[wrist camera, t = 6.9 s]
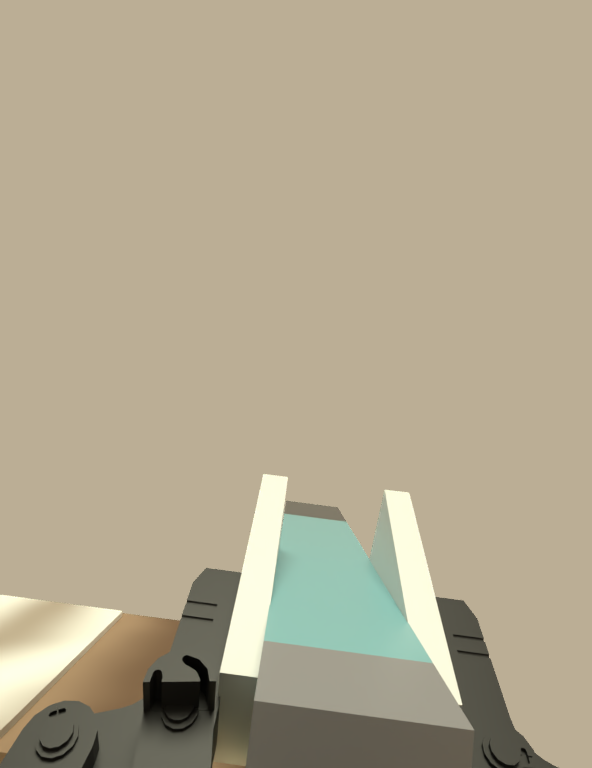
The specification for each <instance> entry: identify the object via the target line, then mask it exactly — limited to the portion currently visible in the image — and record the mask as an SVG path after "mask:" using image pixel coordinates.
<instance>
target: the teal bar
mask: <svg viewBox="0 0 592 768" xmlns="http://www.w3.org/2000/svg"><path fill="white" fill-rule="evenodd" d="M473 743H474V729H473V727H472V726H471V724H470V722H469V721H468V719H467V717H466V716H465V714H464V713H463V711H462V709H461V708H460V706H459V704H458V703H457V701H456V700H455V698H454V696H453V695H452V693H451V691H450V690H449V688H448V687H447V685H446V683H445V682H444V680H443V678H442V677H441V675H440V673H439V672H438V670H437V669H436V667H435V665H434V664H433V662H432V660H431V659H430V657H429V656H428V654H427V652H426V651H425V649H424V647H423V646H422V644H421V643H420V641H419V639H418V638H417V636H416V634H415V633H414V631H413V630H412V628H411V626H410V625H409V623H408V622H407V621H406V619H405V617H404V616H403V614H402V613H401V611H400V609H399V608H398V606H397V604H396V603H395V601H394V599H393V598H392V596H391V595H390V593H389V591H388V590H387V588H386V586H385V585H384V583H383V581H382V580H381V578H380V576H379V575H378V573H377V572H376V570H375V568H374V567H373V565H372V563H371V562H370V559H369V558H368V556H367V555H366V553H365V551H364V550H363V548H362V546H361V545H360V543H359V542H358V540H357V538H356V537H355V535H354V534H353V532H352V530H351V529H350V527H349V526H348V524H347V522H346V520H345V519H344V517H343V516H342V514H341V512H340V511H339V509H338V508H337V507H330V506H322V505H313V504H306V503H298V502H291V501H286V507H285V514H284V519H283V525H282V531H281V538H280V546H279V552H278V559H277V565H276V572H275V578H274V584H273V591H272V597H271V603H270V605H269V611H268V617H267V624H266V630H265V636H264V642H263V648H262V654H261V660H260V667H259V673H258V679H257V685H256V691H255V697H254V704H253V712H252V720H251V728H250V736H249V743H248V751H247V759H246V767H245V768H472V756H473Z"/></svg>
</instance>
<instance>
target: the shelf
mask: <svg viewBox="0 0 592 768" xmlns="http://www.w3.org/2000/svg"><path fill="white" fill-rule="evenodd" d="M179 623H180V621H177V620H169V619H162V618H155V617H147V616H139V615H131V614H125V613H123V611H119V610H111V609H104V608H96V607H89V606H81V605H74V604H66V603H58V602H51V601H43V600H36V599H29V598H21V597H14V596H6V595H0V764H1V762H2V760H3V759H4V757H5V756H6V754H7V753H8V751H9V750H10V748H11V746H12V745H13V743H14V742H15V740H16V739H17V737H18V736H19V734H20V733H21V731H22V729H23V728H24V727H25V726H26V725H27V723H28V722H29V721H30V720H31V719H32V718H33V717H34V715H36V714H37V713H39V712H40V711H42V710H43V709H45V708H46V707H48V706H49V705H52V704H55V703H58V702H61V701H80V702H82V703H84V704H86V705H88V706H90V708H91V709H92V711H93V712H94V714H95V713H99V712H104V711H109V710H114V709H119V708H123V707H126V706H129V705H132V704H134V703H136V702H138V701H139V700H141V699H143V680H144V678H145V675H146V673H147V671H148V669H149V668H150V666H151V665H152V664H153V663H154V662H155V661H156V660H157V659H158V658H160V657H161V656H163V655H165V654H167V653H169V652H170V650H171V647H172V644H173V641H174V638H175V635H176V632H177V629H178V626H179ZM245 767H246V766H241V765H234V764H227V763H220V762H214V760H213V765H212V768H245Z"/></svg>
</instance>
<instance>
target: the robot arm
mask: <svg viewBox="0 0 592 768" xmlns="http://www.w3.org/2000/svg"><path fill="white" fill-rule="evenodd" d="M287 480H288V477H282V476H274V475H266V474H264V475H263V479H262V484H261V488H260V492H259V497H258V501H257V506H256V510H255V515H254V519H253V524H252V529H251V533H250V538H249V542H248V547H247V551H246V556H245V560H244V565H243V569H242V573H240V572H232V571H225V570H217V569H209V568H206V569H205V570H204V571H203V572H202V573H201V574H200V575H199V577H198V578H197V579H196V580H195V581H194V582H193V584H192V587H191V590H190V593H189V596H188V599H187V604H186V605H185V608H184V611H183V614H182V618H181V620H180V623H179V626H178V629H177V632H176V635H175V638H174V641H173V644H172V647H171V650H170V652H169V653H167V654H165V655H163V656H161V657H160V658H158V659H157V660H156V661H155V662H154V663H153V664H152V665H151V666H150V668H149V669H148V671H147V673H146V675H145V678H144V680H143V699H141V700H139V701H138V702H136V703H134V704H132V705H129V706H126V707H123V708H119V709H114V710H109V711H104V712H99V713H95V714H94V712H93V711H92V709H91V708H90V706H88V705H86V704H84V703H82V702H80V701H61V702H58V703H55V704H52V705H49V706H48V707H46V708H45V709H43V710H42V711H40V712H39V713H37V714H36V715H34V717H33V718H32V719H31V720H30V721H29V722H28V723H27V725H26V726H25V727H24V728H23V729H22V731H21V733H20V734H19V736H18V737H17V739H16V740H15V742H14V743H13V745H12V746H11V748H10V750H9V751H8V753H7V754H6V756H5V757H4V759H3V760H2V762H1V764H0V768H212V765H213V760H214V762H220V763H227V764H234V765H241V766H246V759H247V751H248V743H249V736H250V728H251V720H252V712H253V704H254V697H255V691H256V685H257V679H258V673H259V667H260V660H261V654H262V648H263V642H264V636H265V630H266V624H267V617H268V611H269V605H270V603H271V597H272V591H273V584H274V578H275V572H276V565H277V559H278V552H279V546H280V537H281V529H282V521H283V513H284V505H285V496H286V488H287ZM370 562H371V563H372V565H373V567H374V568H375V570H376V572H377V573H378V575H379V576H380V578H381V580H382V581H383V583H384V585H385V586H386V588H387V590H388V591H389V593H390V595H391V596H392V598H393V599H394V601H395V603H396V604H397V606H398V608H399V609H400V611H401V613H402V614H403V616H404V617H405V619H406V621H407V622H408V623H409V625H410V626H411V628H412V630H413V631H414V633H415V634H416V636H417V638H418V639H419V641H420V643H421V644H422V646H423V647H424V649H425V651H426V652H427V654H428V656H429V657H430V659H431V660H432V662H433V664H434V665H435V667H436V669H437V670H438V672H439V673H440V675H441V677H442V678H443V680H444V682H445V683H446V685H447V687H448V688H449V690H450V691H451V693H452V695H453V696H454V698H455V700H456V701H457V703H458V704H459V706H460V708H461V709H462V711H463V713H464V714H465V716H466V717H467V719H468V721H469V722H470V724H471V726H472V727H473V729H474V743H473V756H472V768H557V767H556V766H553V765H552V764H550V763H548V762H547V761H545V760H543V759H542V758H541V757H539V756H538V755H537V754H536V753H534V750H533V749H532V748H531V746H530V745H529V743H528V742H527V741H526V739H525V738H524V737H523V736H522V735H521V734H519V732H517V731H516V730H515V728H514V726H513V724H512V721H511V719H510V716H509V713H508V710H507V707H506V704H505V701H504V698H503V695H502V692H501V689H500V686H499V683H498V680H497V677H496V674H495V671H494V668H493V665H492V662H491V659H490V658H489V653H488V650H487V647H486V644H485V642H484V641H483V635H482V632H481V629H480V626H479V623H478V620H477V618H476V617H475V615H474V614H473V613H472V611H471V610H470V609H469V607H468V606H467V605H466V604H465V602H464V601H461V600H454V599H447V598H439V597H435V594H434V590H433V586H432V582H431V578H430V574H429V570H428V566H427V562H426V559H425V554H424V550H423V546H422V542H421V538H420V534H419V530H418V526H417V522H416V518H415V514H414V510H413V506H412V502H411V498H410V494H409V493H406V492H398V491H391V490H385V491H384V495H383V500H382V504H381V509H380V513H379V518H378V523H377V527H376V532H375V536H374V541H373V545H372V550H371V555H370Z"/></svg>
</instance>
